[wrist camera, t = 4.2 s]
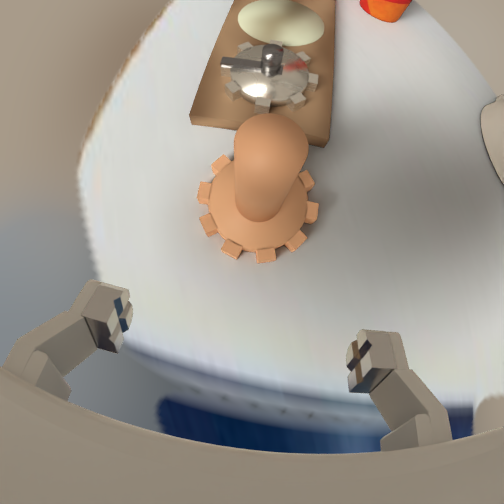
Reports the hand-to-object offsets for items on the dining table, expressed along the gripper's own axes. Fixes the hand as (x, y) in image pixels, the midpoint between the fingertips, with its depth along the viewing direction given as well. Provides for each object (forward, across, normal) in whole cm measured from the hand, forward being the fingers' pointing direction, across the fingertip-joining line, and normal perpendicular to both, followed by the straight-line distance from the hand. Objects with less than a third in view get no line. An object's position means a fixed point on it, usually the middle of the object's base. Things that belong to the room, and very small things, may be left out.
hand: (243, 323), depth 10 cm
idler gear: (+13, 0, +3) cm, 14 cm away
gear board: (+27, +1, -11) cm, 30 cm away
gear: (+20, +1, -6) cm, 21 cm away
